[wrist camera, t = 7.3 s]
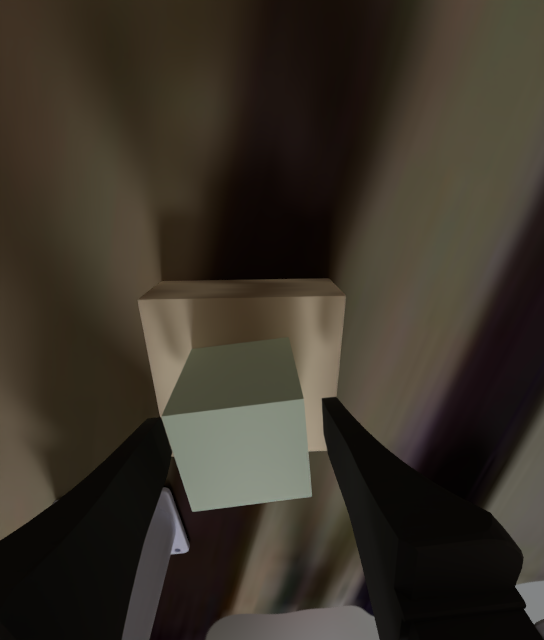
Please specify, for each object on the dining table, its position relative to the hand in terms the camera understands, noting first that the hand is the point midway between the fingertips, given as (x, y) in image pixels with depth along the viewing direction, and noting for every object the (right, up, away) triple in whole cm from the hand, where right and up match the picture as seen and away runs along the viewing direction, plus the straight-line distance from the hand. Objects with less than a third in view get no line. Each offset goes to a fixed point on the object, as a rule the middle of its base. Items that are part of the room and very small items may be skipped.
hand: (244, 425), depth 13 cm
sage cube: (0, +1, +3) cm, 3 cm away
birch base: (0, +3, +7) cm, 7 cm away
